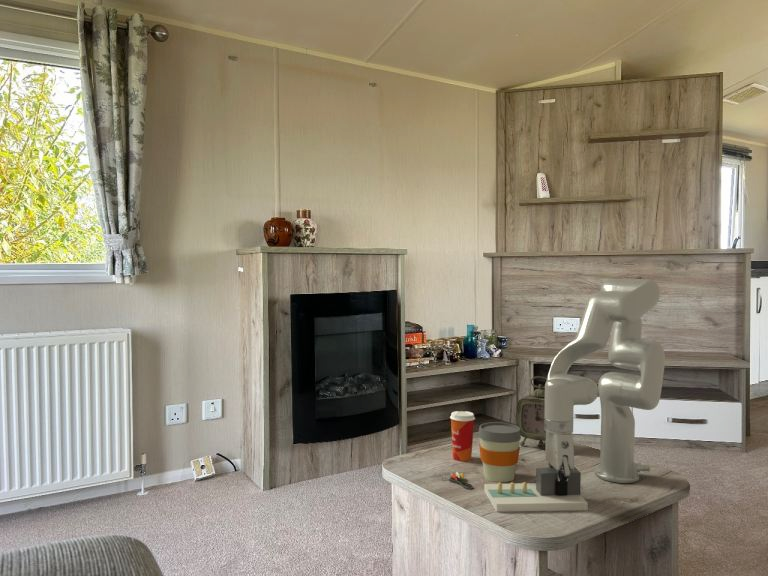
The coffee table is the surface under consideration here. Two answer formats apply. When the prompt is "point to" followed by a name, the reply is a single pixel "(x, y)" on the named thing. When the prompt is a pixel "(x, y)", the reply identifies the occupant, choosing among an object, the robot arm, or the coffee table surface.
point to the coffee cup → (462, 435)
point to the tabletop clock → (532, 415)
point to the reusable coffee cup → (499, 450)
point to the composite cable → (460, 480)
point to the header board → (529, 499)
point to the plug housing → (548, 477)
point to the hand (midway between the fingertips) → (557, 490)
